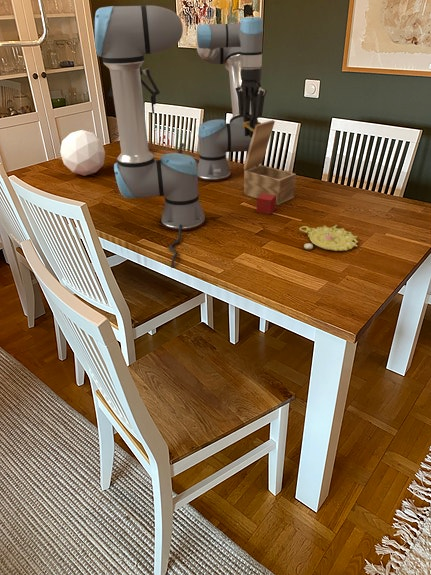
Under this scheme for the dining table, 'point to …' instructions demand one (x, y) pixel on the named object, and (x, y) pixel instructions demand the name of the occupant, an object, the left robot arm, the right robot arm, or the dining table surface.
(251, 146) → the lid
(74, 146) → the sphere
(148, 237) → the dining table surface
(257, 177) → the chest
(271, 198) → the block
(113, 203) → the dining table surface
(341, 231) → the decorative object
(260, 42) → the right robot arm
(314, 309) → the dining table surface
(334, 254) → the dining table surface
